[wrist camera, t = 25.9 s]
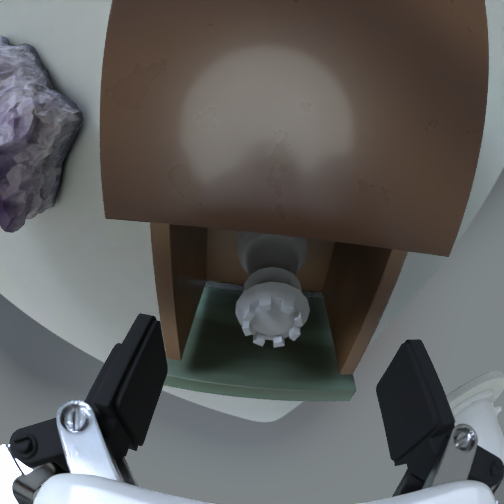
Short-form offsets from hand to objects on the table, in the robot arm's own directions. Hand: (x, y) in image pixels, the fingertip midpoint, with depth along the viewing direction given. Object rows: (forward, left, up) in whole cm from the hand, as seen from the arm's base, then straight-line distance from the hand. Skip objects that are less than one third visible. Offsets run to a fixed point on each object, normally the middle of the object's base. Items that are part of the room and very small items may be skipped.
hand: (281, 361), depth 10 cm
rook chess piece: (0, 0, -10) cm, 10 cm away
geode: (+23, -10, -12) cm, 28 cm away
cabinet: (0, -12, -12) cm, 17 cm away
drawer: (0, +2, -11) cm, 11 cm away
